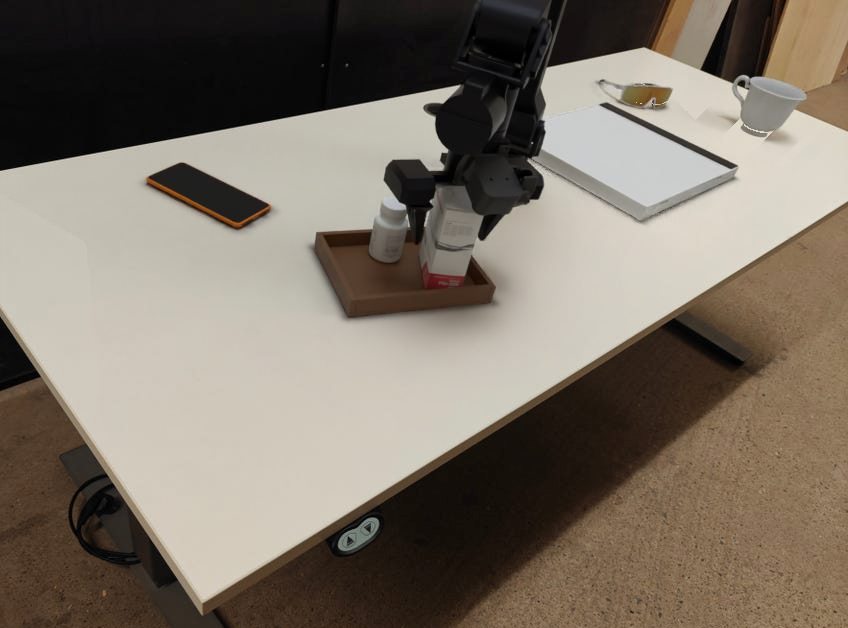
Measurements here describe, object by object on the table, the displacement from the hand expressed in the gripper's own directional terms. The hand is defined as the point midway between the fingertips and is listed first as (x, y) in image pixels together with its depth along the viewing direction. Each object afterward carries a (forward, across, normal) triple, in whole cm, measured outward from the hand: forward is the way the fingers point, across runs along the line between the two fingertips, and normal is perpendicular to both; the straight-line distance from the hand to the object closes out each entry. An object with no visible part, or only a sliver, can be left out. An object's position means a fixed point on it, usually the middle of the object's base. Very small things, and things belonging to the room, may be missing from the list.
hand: (448, 241), depth 84 cm
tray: (+6, -5, +1) cm, 8 cm away
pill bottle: (+5, -6, +5) cm, 9 cm away
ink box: (+5, 0, 0) cm, 5 cm away
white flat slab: (+6, +52, +31) cm, 61 cm away
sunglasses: (+6, +78, +61) cm, 99 cm away
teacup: (+6, +98, +44) cm, 108 cm away
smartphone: (+6, -26, +22) cm, 34 cm away
